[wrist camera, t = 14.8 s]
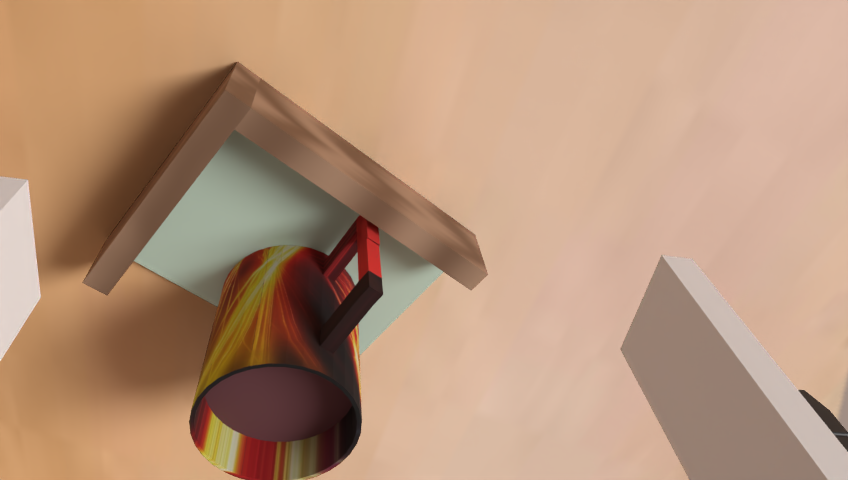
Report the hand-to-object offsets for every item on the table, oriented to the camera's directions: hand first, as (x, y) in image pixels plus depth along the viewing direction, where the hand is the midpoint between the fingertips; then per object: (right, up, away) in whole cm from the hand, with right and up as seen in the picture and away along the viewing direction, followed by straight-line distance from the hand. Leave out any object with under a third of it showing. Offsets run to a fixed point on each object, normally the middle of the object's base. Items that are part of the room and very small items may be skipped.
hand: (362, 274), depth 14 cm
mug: (-8, -2, +34) cm, 35 cm away
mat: (-7, 0, +33) cm, 34 cm away
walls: (-8, +1, +32) cm, 33 cm away
